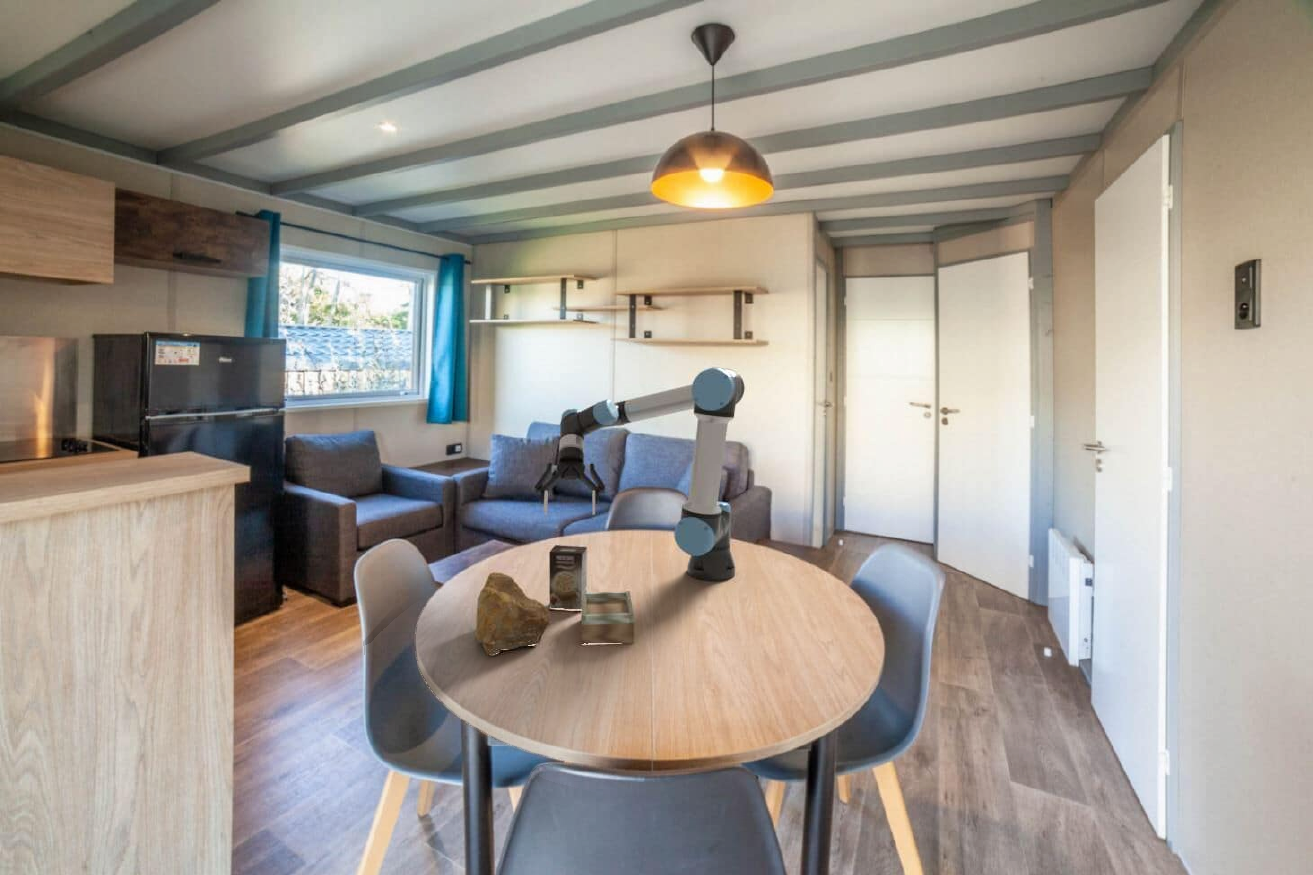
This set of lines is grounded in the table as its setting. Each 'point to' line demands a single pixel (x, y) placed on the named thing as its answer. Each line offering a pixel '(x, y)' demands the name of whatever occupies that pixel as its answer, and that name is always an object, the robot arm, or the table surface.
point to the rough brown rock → (508, 616)
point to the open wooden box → (607, 617)
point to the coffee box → (567, 576)
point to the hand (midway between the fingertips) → (569, 512)
